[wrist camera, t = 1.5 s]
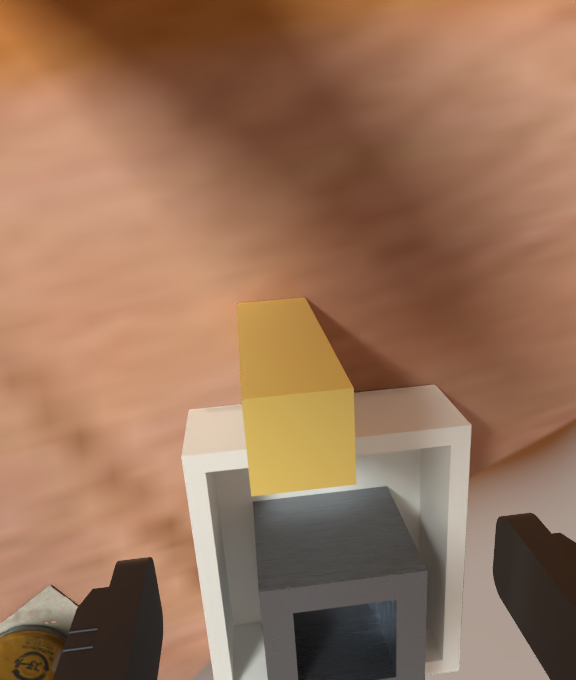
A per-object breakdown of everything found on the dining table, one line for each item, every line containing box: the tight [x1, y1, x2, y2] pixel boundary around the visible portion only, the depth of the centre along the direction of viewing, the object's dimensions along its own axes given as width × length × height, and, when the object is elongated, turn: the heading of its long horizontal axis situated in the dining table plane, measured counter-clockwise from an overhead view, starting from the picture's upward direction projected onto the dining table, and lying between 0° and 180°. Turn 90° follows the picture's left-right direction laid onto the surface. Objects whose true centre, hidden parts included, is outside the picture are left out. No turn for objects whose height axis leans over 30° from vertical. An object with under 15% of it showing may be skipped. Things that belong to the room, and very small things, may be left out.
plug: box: [237, 297, 356, 496], centre depth 24 cm, size 4×4×12 cm
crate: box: [181, 384, 472, 680], centre depth 31 cm, size 16×14×5 cm
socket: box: [253, 486, 427, 680], centre depth 30 cm, size 8×8×7 cm
